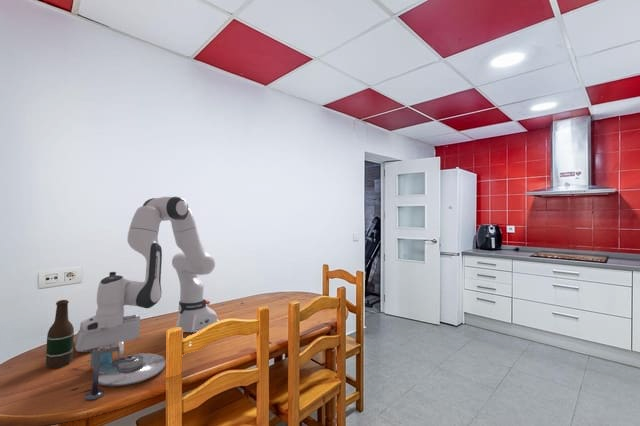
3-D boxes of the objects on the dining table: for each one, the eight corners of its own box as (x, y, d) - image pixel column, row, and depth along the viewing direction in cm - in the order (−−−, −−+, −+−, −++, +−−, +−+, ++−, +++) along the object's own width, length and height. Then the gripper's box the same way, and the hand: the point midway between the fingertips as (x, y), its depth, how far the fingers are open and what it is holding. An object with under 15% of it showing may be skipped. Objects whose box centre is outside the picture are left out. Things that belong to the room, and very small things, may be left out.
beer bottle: (58, 358, 120) (61, 297, 120) (77, 359, 119) (80, 298, 120) (39, 368, 112) (43, 303, 112) (60, 369, 112) (63, 304, 112)
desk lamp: (119, 384, 103) (121, 338, 103) (122, 391, 100) (124, 343, 100) (83, 395, 97) (86, 345, 97) (85, 402, 93) (88, 351, 93)
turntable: (116, 352, 124) (117, 338, 125) (177, 359, 121) (178, 344, 121) (64, 380, 103) (65, 362, 103) (136, 390, 99) (137, 371, 99)
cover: (128, 361, 115) (128, 351, 115) (147, 363, 114) (148, 352, 114) (111, 372, 107) (112, 360, 107) (132, 374, 106) (133, 362, 106)
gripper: (138, 312, 126) (136, 345, 125) (75, 323, 111) (73, 361, 111) (142, 315, 121) (141, 350, 121) (78, 327, 107) (76, 367, 106)
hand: (108, 355), depth 116 cm, fingers closed
